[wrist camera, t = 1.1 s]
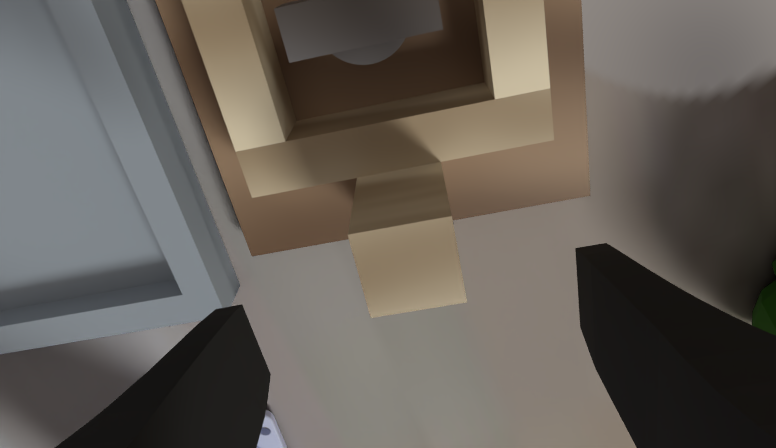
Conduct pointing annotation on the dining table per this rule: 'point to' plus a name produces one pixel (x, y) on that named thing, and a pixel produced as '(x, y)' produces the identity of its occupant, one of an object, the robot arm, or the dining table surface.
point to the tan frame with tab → (381, 140)
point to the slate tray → (95, 184)
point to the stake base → (386, 84)
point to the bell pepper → (766, 308)
